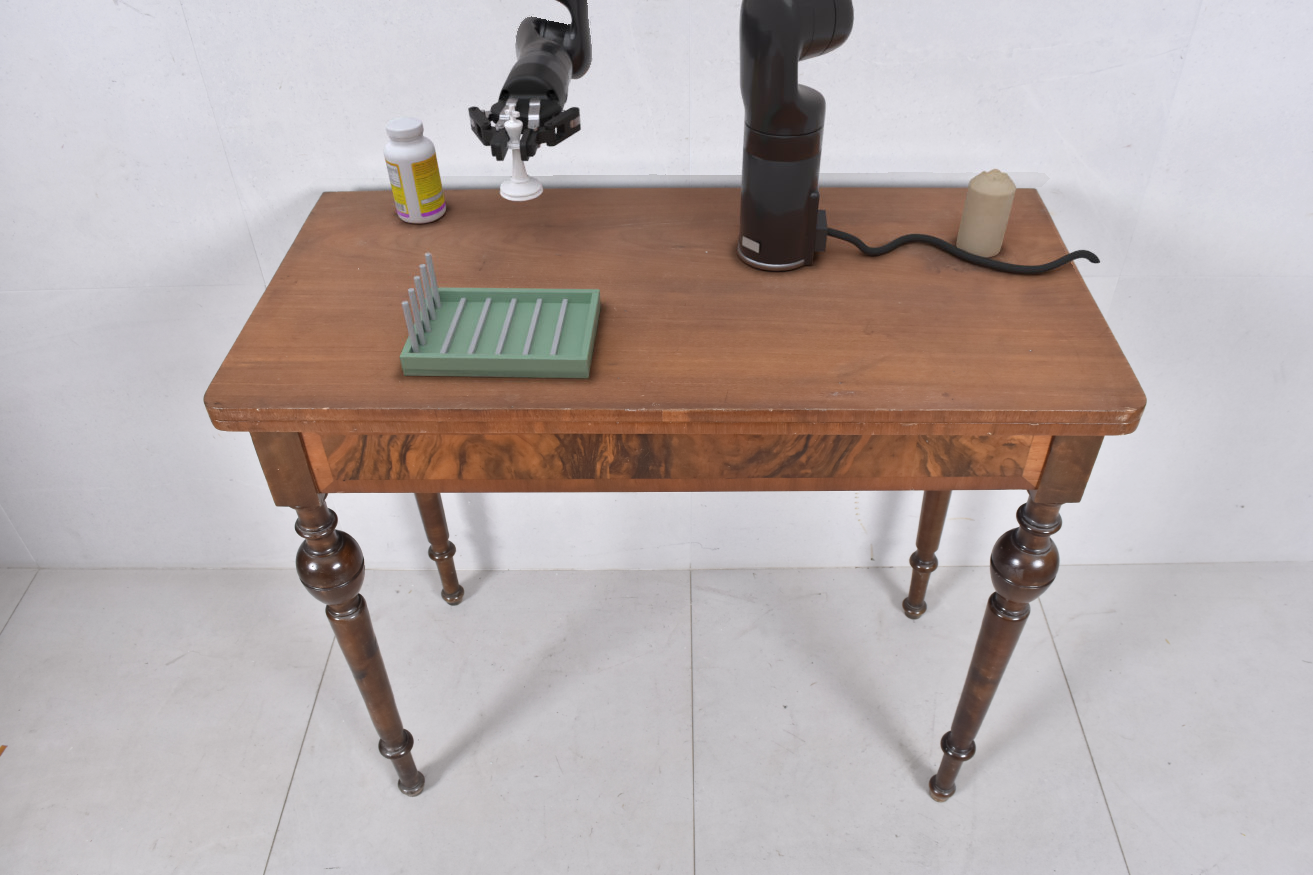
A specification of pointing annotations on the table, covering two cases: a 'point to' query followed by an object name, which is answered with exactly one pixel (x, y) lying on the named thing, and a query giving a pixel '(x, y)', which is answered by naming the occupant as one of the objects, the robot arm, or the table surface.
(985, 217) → the candle
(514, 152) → the chess piece
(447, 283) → the table surface
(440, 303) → the dish rack
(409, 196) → the supplement bottle
